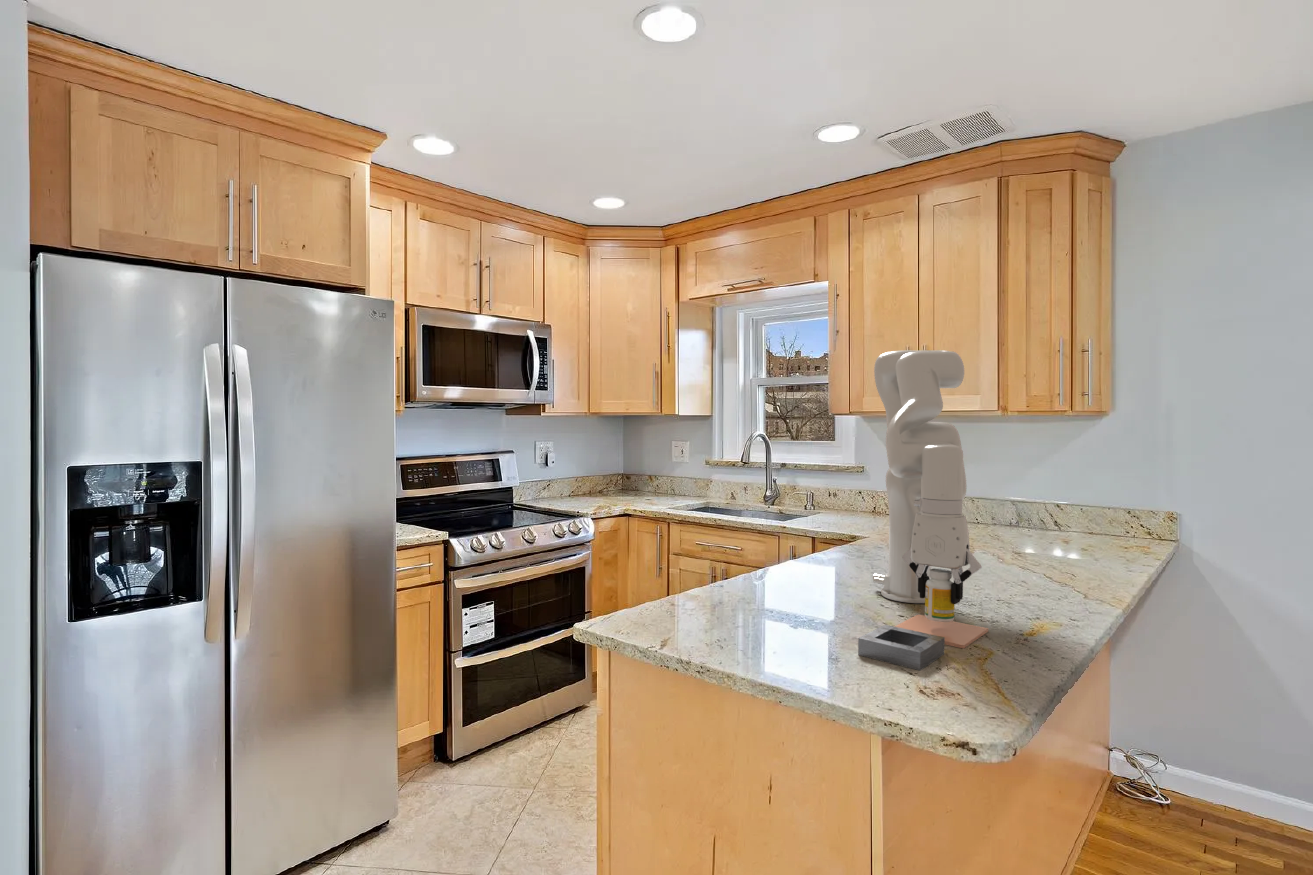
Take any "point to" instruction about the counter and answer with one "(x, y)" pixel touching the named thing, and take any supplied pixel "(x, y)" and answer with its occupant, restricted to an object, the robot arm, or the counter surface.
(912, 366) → the robot arm
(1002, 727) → the counter surface
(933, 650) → the collar
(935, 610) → the supplement bottle
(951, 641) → the tile
